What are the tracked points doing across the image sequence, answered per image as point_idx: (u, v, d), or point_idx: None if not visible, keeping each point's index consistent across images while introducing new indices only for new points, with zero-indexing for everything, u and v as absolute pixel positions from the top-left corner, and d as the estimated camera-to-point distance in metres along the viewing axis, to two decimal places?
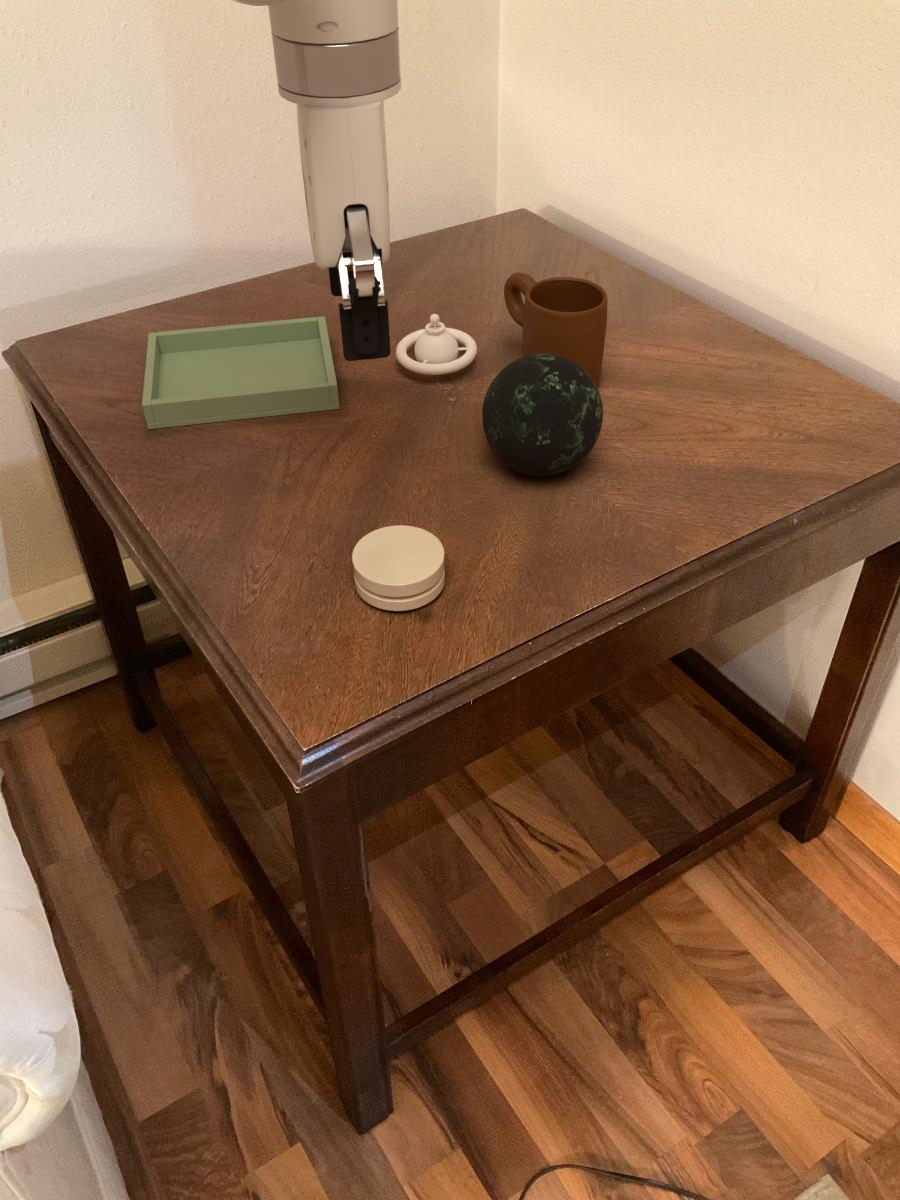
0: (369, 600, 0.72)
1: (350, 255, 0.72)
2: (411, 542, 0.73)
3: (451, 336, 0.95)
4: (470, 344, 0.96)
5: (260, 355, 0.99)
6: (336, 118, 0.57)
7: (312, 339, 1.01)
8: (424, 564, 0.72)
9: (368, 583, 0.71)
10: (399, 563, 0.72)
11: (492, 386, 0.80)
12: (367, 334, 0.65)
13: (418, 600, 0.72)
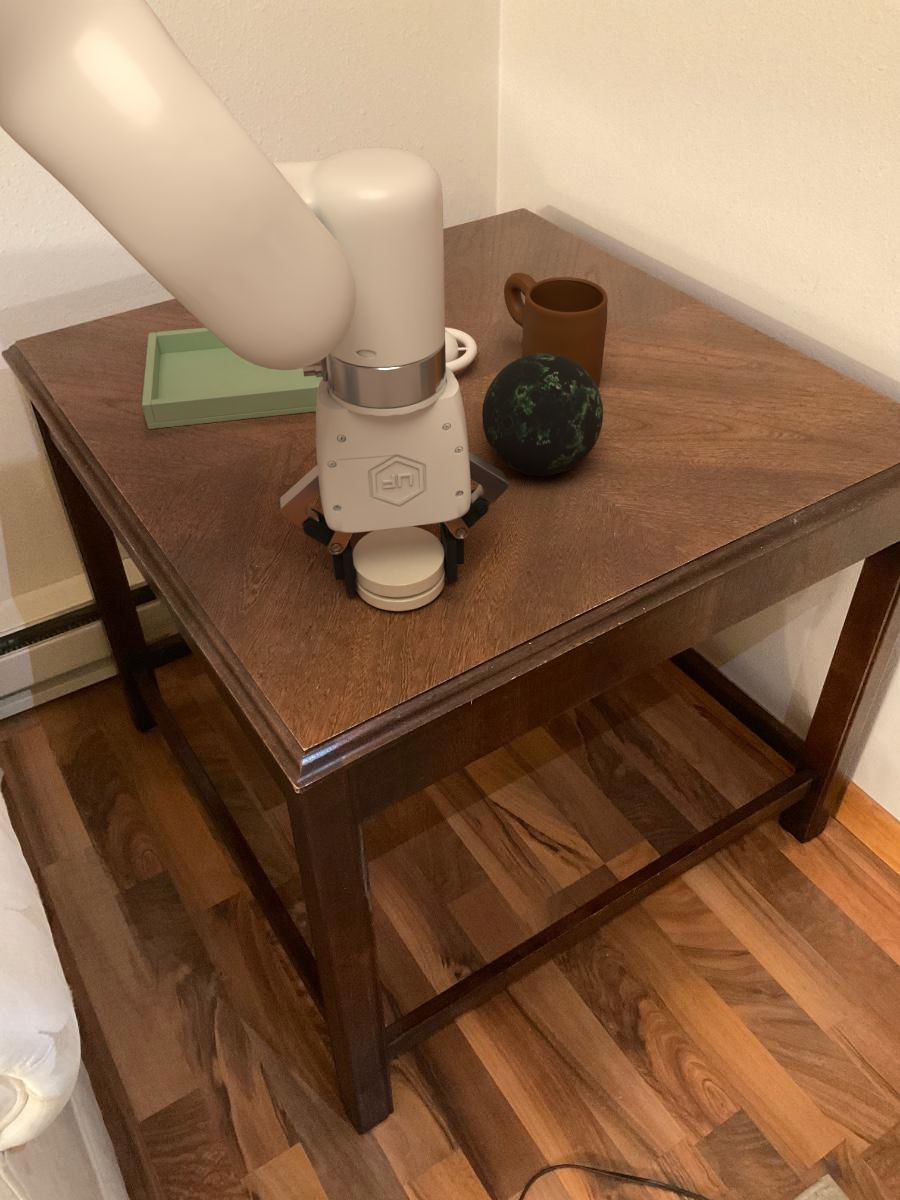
0: (369, 600, 0.72)
1: None
2: (411, 542, 0.73)
3: (451, 336, 0.95)
4: (470, 344, 0.96)
5: None
6: None
7: None
8: (424, 564, 0.72)
9: (368, 583, 0.71)
10: (399, 563, 0.72)
11: (492, 386, 0.80)
12: None
13: (418, 600, 0.72)
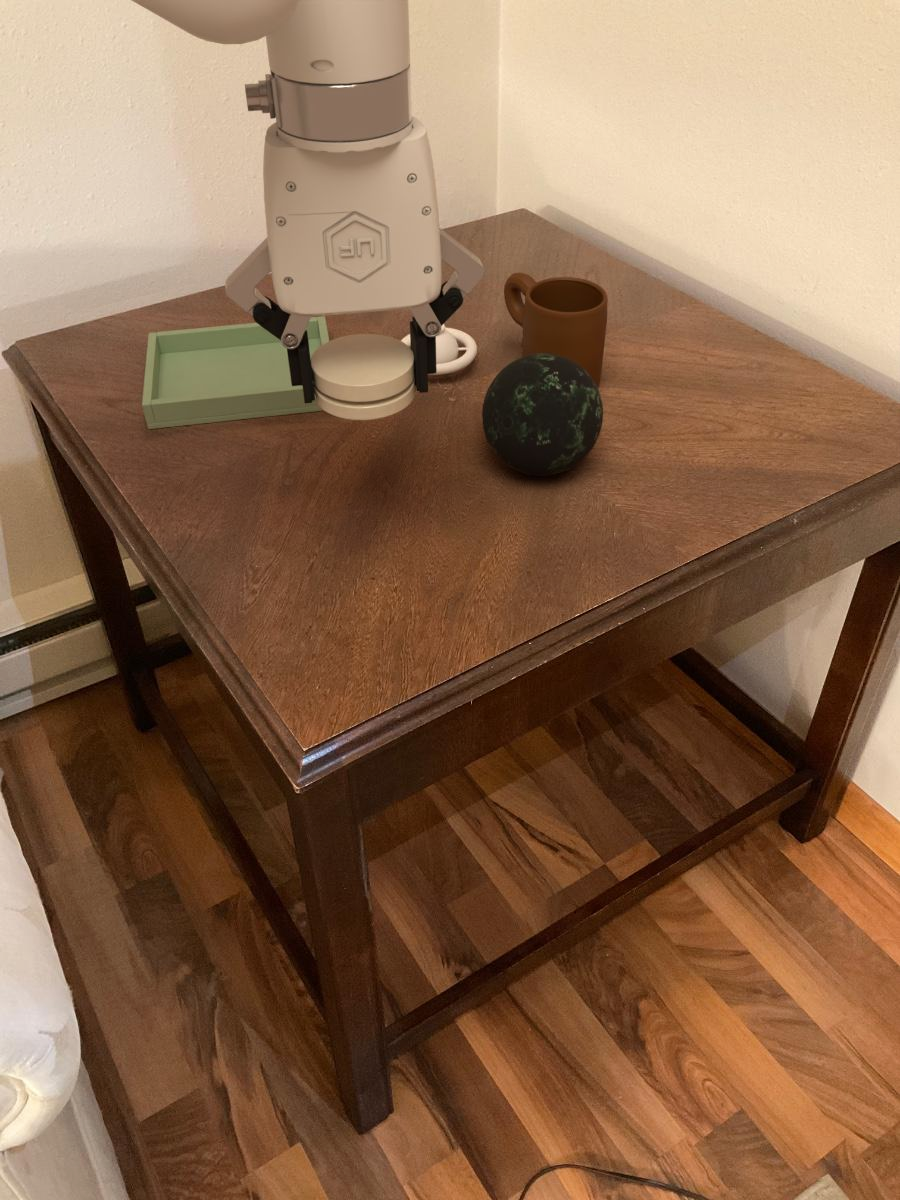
0: (329, 408, 0.64)
1: None
2: (378, 348, 0.66)
3: (451, 336, 0.95)
4: (470, 344, 0.96)
5: (260, 355, 0.99)
6: None
7: (312, 339, 1.01)
8: (391, 367, 0.64)
9: (327, 386, 0.63)
10: (363, 366, 0.64)
11: (492, 386, 0.80)
12: None
13: (383, 408, 0.64)
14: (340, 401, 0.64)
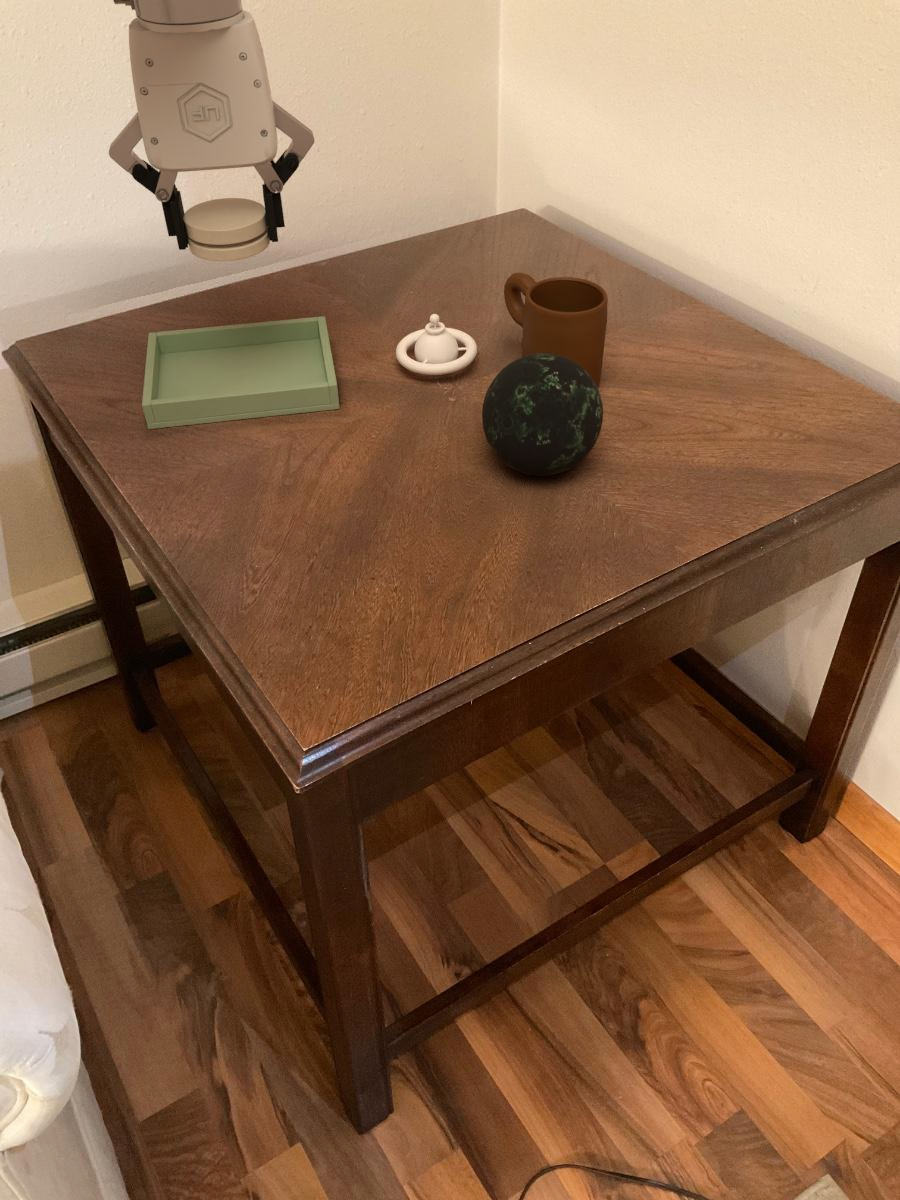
0: (198, 252, 0.81)
1: (180, 204, 0.81)
2: (238, 207, 0.83)
3: (451, 336, 0.95)
4: (470, 344, 0.96)
5: (260, 355, 0.99)
6: (254, 23, 0.72)
7: (312, 339, 1.01)
8: (245, 218, 0.81)
9: (194, 232, 0.80)
10: (224, 218, 0.81)
11: (492, 386, 0.80)
12: None
13: (240, 250, 0.81)
14: (206, 246, 0.81)
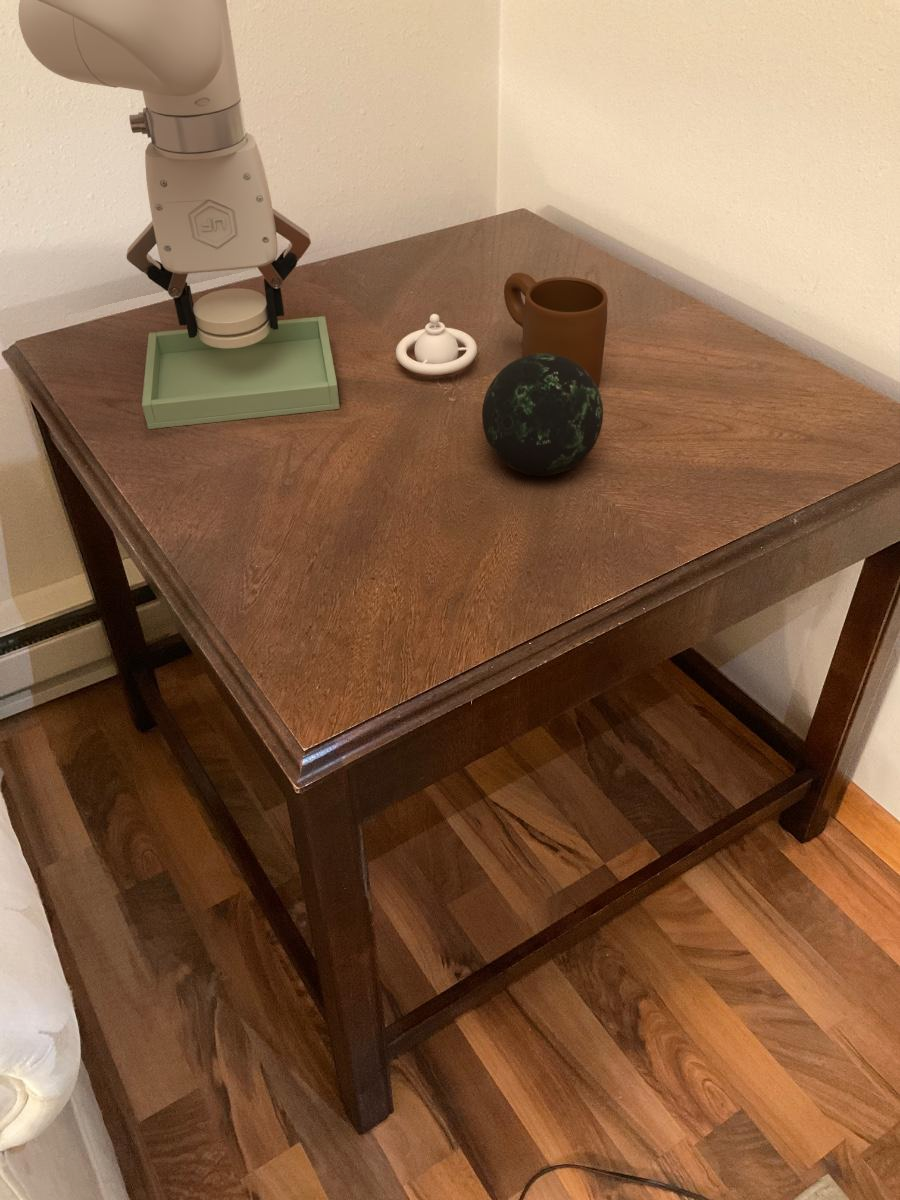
0: (206, 340, 0.90)
1: (190, 298, 0.90)
2: (242, 298, 0.92)
3: (451, 336, 0.95)
4: (470, 344, 0.96)
5: (260, 355, 0.99)
6: None
7: (312, 339, 1.01)
8: (249, 310, 0.90)
9: (203, 324, 0.89)
10: (229, 310, 0.90)
11: (492, 386, 0.80)
12: None
13: (244, 339, 0.90)
14: (213, 335, 0.90)
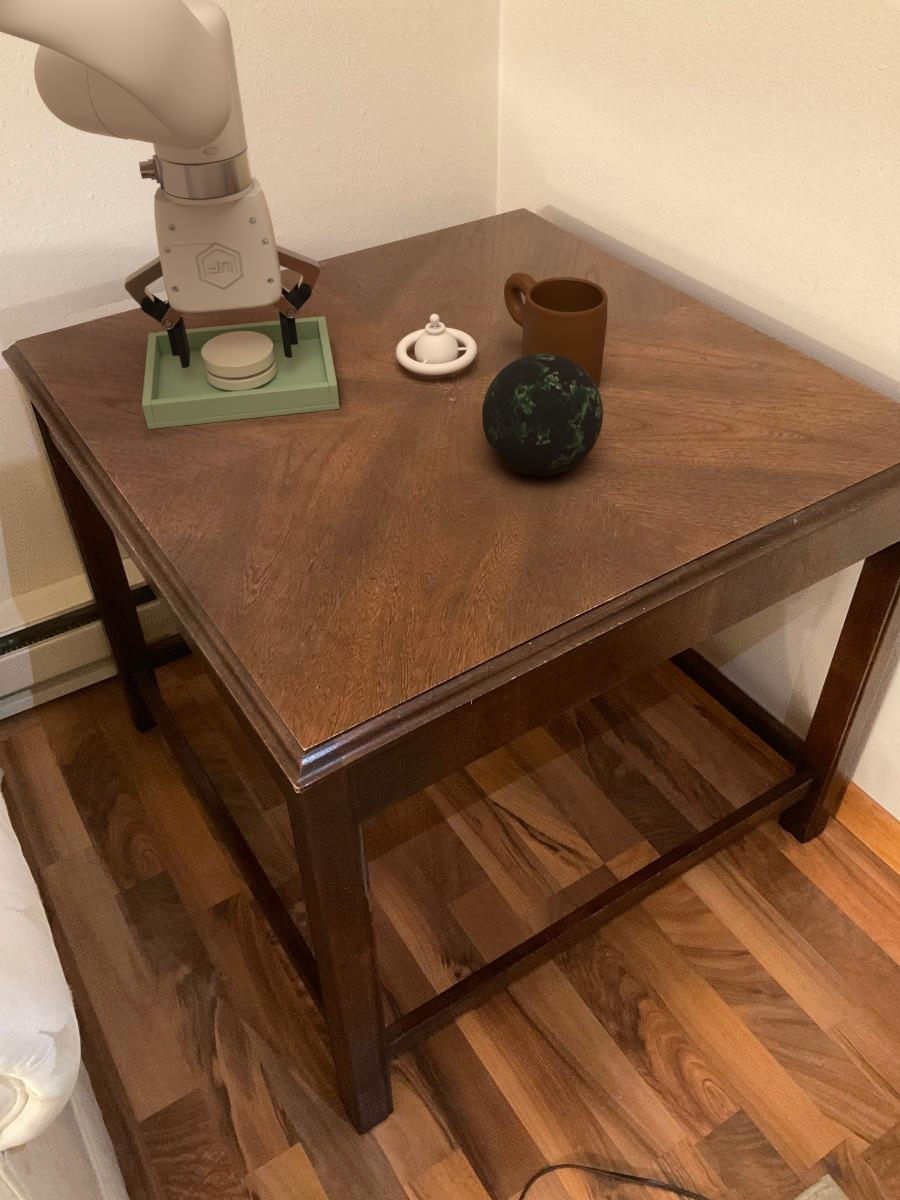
0: (214, 383, 0.93)
1: (183, 329, 0.92)
2: (249, 341, 0.95)
3: (451, 336, 0.95)
4: (470, 344, 0.96)
5: None
6: (262, 191, 0.84)
7: (312, 339, 1.01)
8: (255, 354, 0.93)
9: (211, 367, 0.92)
10: (236, 353, 0.93)
11: (492, 386, 0.80)
12: None
13: (251, 382, 0.93)
14: (221, 377, 0.93)
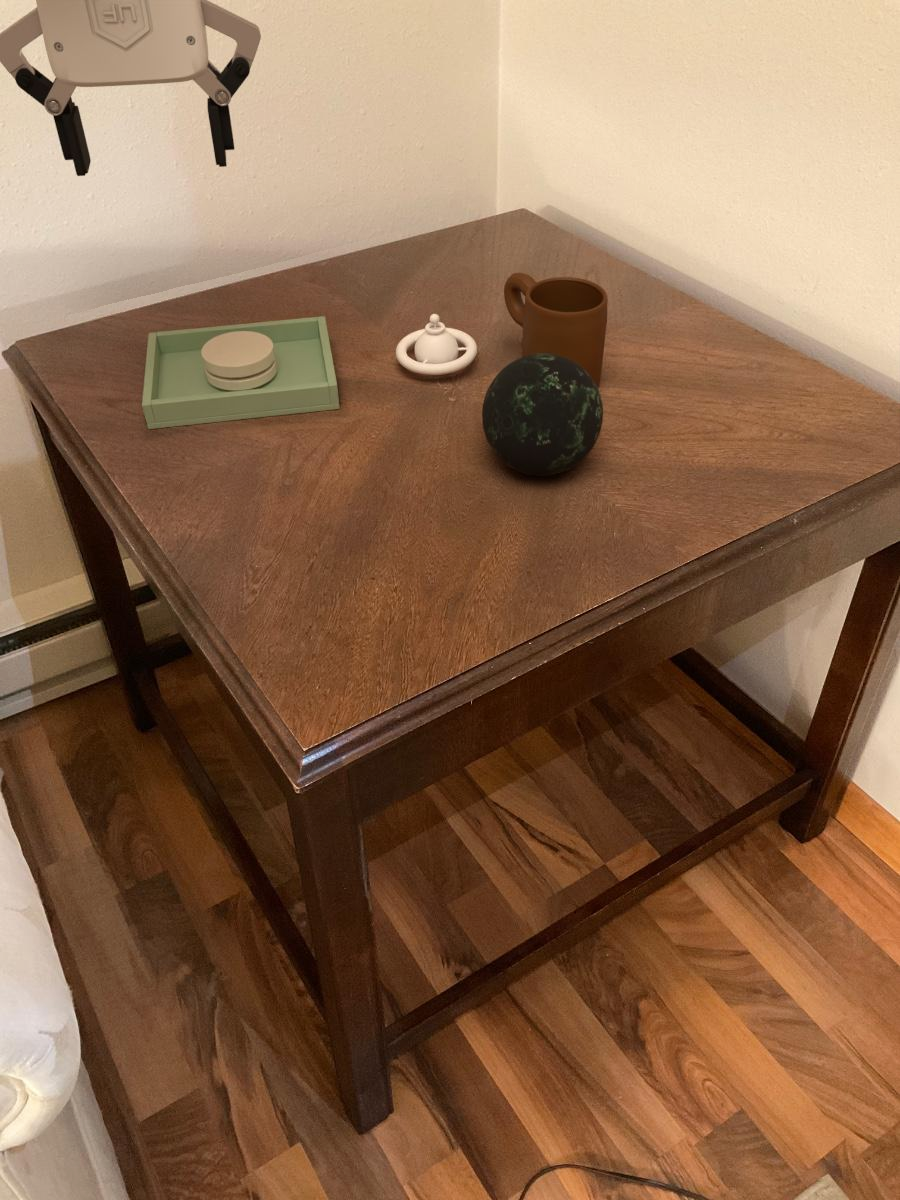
0: (214, 383, 0.93)
1: (78, 121, 0.68)
2: (249, 341, 0.95)
3: (451, 336, 0.95)
4: (470, 344, 0.96)
5: None
6: None
7: (312, 339, 1.01)
8: (255, 354, 0.93)
9: (211, 367, 0.92)
10: (236, 353, 0.93)
11: (492, 386, 0.80)
12: (231, 127, 0.70)
13: (251, 382, 0.93)
14: (221, 377, 0.93)
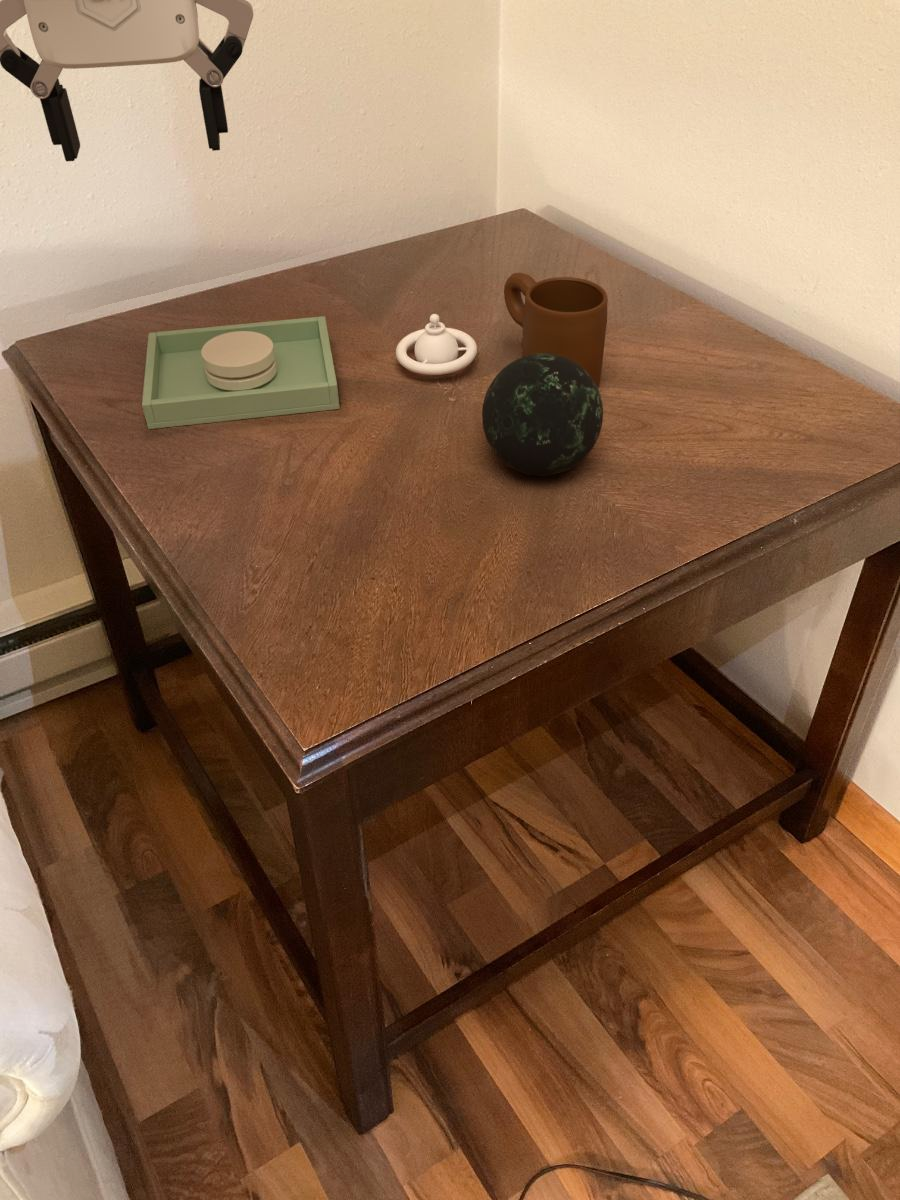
0: (214, 383, 0.93)
1: (66, 104, 0.66)
2: (249, 341, 0.95)
3: (451, 336, 0.95)
4: (470, 344, 0.96)
5: None
6: None
7: (312, 339, 1.01)
8: (255, 354, 0.93)
9: (211, 367, 0.92)
10: (236, 353, 0.93)
11: (492, 386, 0.80)
12: (224, 109, 0.68)
13: (251, 382, 0.93)
14: (221, 377, 0.93)
